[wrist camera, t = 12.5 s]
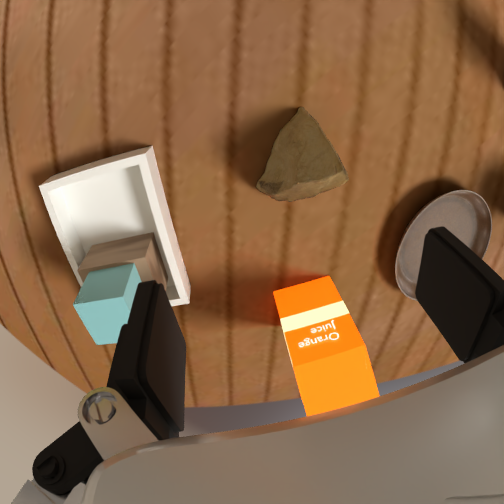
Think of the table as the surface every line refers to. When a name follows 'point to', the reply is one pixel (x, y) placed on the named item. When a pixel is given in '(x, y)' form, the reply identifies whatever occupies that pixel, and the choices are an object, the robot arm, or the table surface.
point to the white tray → (115, 211)
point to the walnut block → (127, 257)
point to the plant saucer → (451, 217)
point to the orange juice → (324, 347)
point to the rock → (301, 162)
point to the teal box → (107, 301)
